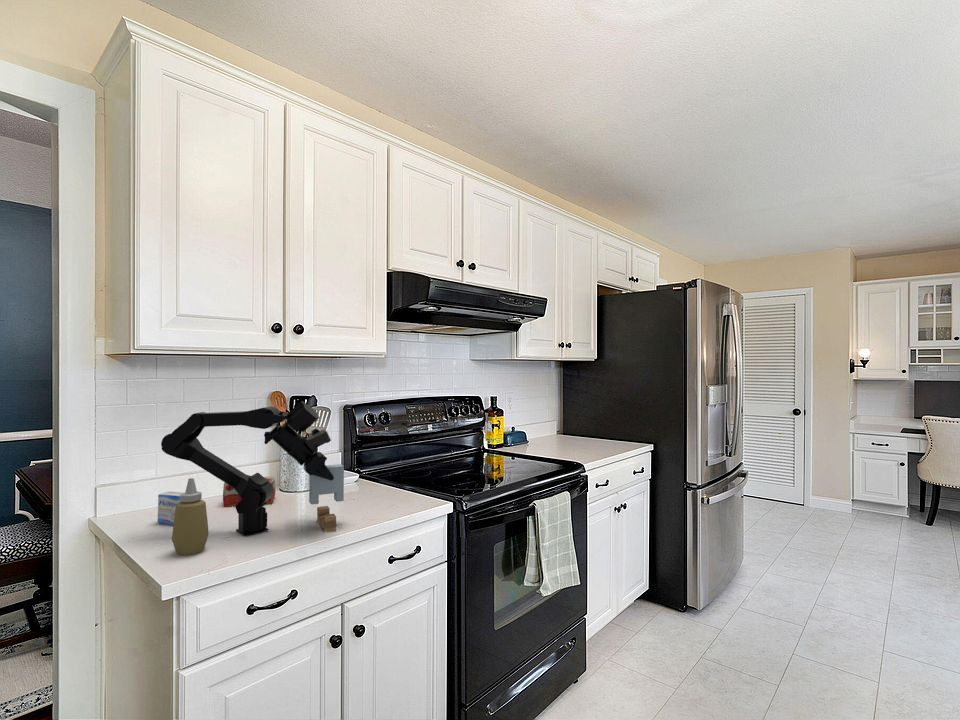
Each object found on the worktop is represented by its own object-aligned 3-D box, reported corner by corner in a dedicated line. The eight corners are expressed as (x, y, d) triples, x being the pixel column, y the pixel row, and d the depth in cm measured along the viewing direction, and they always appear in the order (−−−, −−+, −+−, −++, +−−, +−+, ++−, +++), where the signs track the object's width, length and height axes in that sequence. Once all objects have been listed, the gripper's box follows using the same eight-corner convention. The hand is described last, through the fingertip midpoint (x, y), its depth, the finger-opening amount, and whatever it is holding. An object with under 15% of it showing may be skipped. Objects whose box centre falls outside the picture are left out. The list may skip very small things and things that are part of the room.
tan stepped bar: (336, 530, 144) (336, 516, 144) (325, 532, 143) (325, 517, 143) (327, 519, 155) (327, 505, 155) (317, 520, 153) (317, 507, 153)
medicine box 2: (275, 498, 179) (275, 475, 179) (272, 505, 171) (272, 480, 171) (227, 501, 175) (227, 477, 175) (222, 508, 167) (222, 483, 167)
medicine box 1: (156, 524, 149) (157, 494, 149) (169, 519, 153) (169, 490, 153) (179, 526, 147) (180, 496, 147) (191, 522, 151) (192, 492, 152)
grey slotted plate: (311, 504, 145) (311, 469, 145) (309, 501, 148) (309, 466, 148) (343, 500, 149) (343, 466, 149) (340, 498, 152) (341, 464, 153)
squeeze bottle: (173, 560, 122) (174, 484, 122) (169, 550, 129) (170, 477, 129) (211, 553, 127) (212, 479, 127) (206, 543, 133) (206, 473, 133)
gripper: (319, 424, 139) (359, 462, 144) (307, 417, 155) (344, 451, 160) (287, 456, 135) (330, 493, 140) (279, 445, 152) (317, 479, 157)
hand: (331, 477), depth 149 cm, fingers closed on grey slotted plate, 3 cm apart
